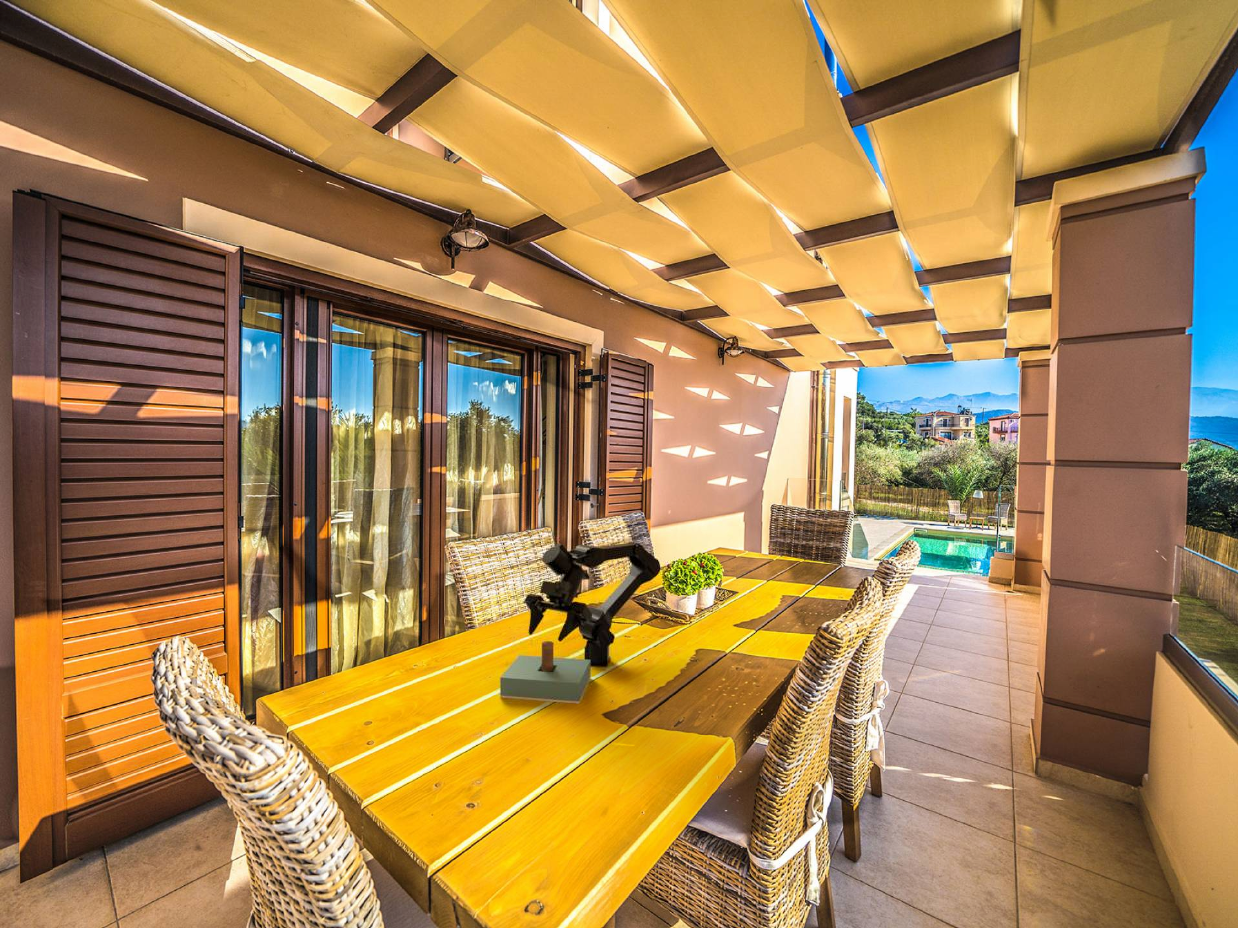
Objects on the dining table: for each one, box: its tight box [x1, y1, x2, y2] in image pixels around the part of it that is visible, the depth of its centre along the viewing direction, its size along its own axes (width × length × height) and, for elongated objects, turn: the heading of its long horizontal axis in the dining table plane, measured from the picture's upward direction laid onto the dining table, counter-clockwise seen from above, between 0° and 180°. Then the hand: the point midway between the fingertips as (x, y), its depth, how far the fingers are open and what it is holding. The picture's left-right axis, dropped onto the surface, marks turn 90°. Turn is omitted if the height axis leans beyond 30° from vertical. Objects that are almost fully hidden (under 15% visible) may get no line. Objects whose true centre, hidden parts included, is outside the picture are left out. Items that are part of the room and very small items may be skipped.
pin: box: [541, 640, 554, 672], centre depth 131 cm, size 3×3×11 cm
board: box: [499, 654, 592, 705], centre depth 131 cm, size 20×14×5 cm
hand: (544, 637), depth 129 cm, fingers open, 9 cm apart
